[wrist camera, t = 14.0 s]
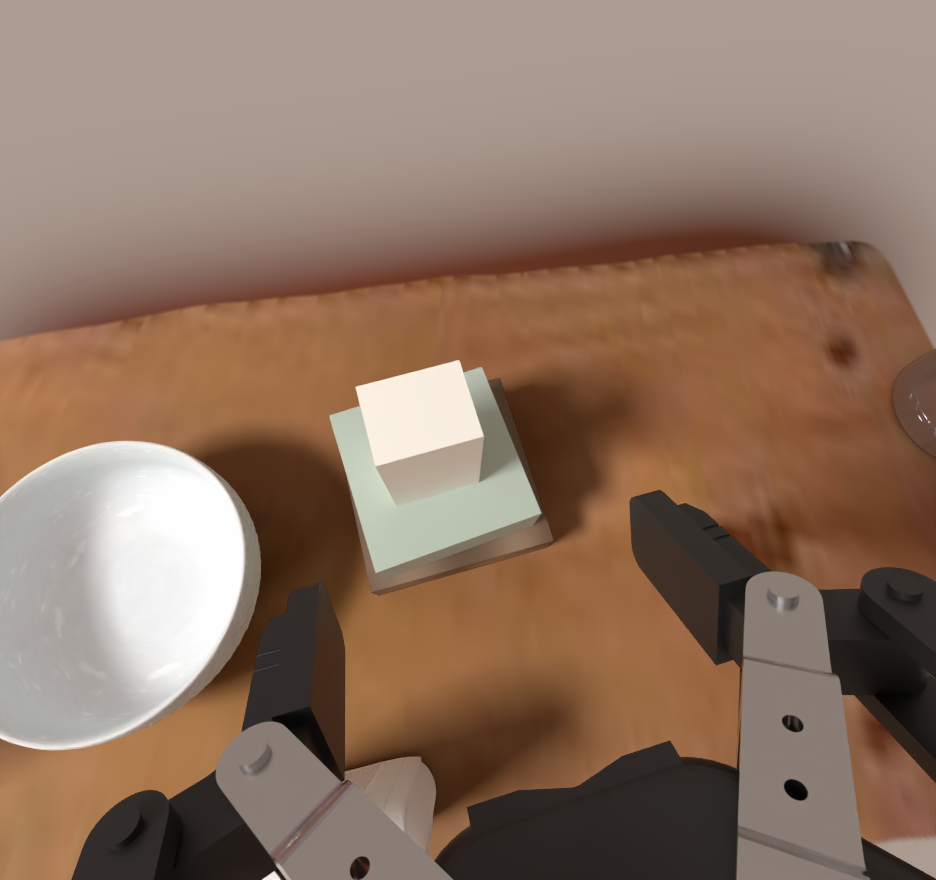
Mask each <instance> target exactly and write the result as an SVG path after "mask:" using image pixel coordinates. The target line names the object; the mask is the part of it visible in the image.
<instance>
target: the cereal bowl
mask: <svg viewBox="0 0 936 880" xmlns="http://www.w3.org/2000/svg"><path fill="white" fill-rule="evenodd" d="M260 554H261V552H260V546H259V542H258V535H257V534H256V531H255V527H254V523H253V521H252V519H251V517H250V514H249V512H248V511H247V509H246V507H245V505H244V503H243V502H242V500H241V498H240V497H239V496H238V495H237V493H236V491H235V490H233V488H232V487H231V486H230V485H229V483H227V482H226V480H224V479H223V478H222V477H221V476H220V475H218V474H217V473H216V472H215V471H214V470H213V469H212V468H210V467H208V466H207V465H206V464H205V463H203V462H201V461H200V460H198V459H196V458H194V457H193V456H192V455H190V454H187V453H185V452H182V451H180V450H178V449H177V448H173V447H170V446H166V445H162V444H158V443H151V442H144V441H113V442H105V443H99V444H94V445H90V446H87V447H83V448H80V449H77V450H74V451H71V452H69V453H66V454H64V455H61V456H59V457H57V458H55V459H53V460H51V461H49V462H47V463H46V464H44V465H42V466H40V467H39V468H37V469H35V470H34V471H32V472H31V473H29V474H28V475H26V476H25V477H24V478H22V479H21V480H20V481H18V482H17V483H16V484H15V485H13V486H12V487H11V488H10V489H9V490H7V491H6V492H5V493H4V494H3V495H2V496H1V497H0V738H1V739H3V740H5V741H8V742H10V743H13V744H16V745H20V746H24V747H28V748H34V749H40V750H68V749H78V748H85V747H89V746H94V745H98V744H103V743H106V742H108V741H112V740H115V739H119V738H121V737H123V736H127V735H129V734H132V733H135V732H136V731H138V730H141V729H143V728H146V727H148V726H149V725H151V724H154V723H156V722H157V721H160V720H161V719H163V718H164V717H166V716H167V715H169V714H171V713H174V712H175V711H176V710H177V709H178V708H180V707H181V706H183V705H185V704H186V703H188V702H189V701H190V700H191V699H192V698H193V697H194V696H196V695H197V694H199V692H200V691H202V690H203V688H204V687H206V686H207V685H208V684H209V683H210V682H211V681H212V680H213V678H214V677H215V676H216V675H217V674H218V673H219V672H220V671H221V669H222V668H223V667H224V665H225V664H226V662H227V661H228V660H230V659H231V656H232V654H233V653H234V651H235V650H236V648H237V646H238V645H239V644H240V642H241V639H242V638H243V636H244V633H245V631H246V630H247V629H248V626H249V623H250V621H251V617H252V615H253V613H254V608H255V605H256V600H257V597H258V594H259V586H260V580H261V558H260Z"/></svg>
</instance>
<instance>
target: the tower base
mask: <svg viewBox="0 0 936 880" xmlns="http://www.w3.org/2000/svg"><path fill="white" fill-rule="evenodd" d="M488 383H489V386H490V388H491V391H492V393H493V396H494V398H495V400H496V403H497V405H498V408H499V410H500V413H501V415H502V418H503V420H504V422H505V425H506V427H507V430H508V432H509V435H510V437H511V440H512V442H513V444H514V447H515V449H516V452H517V454H518V457H519V459H520V462H521V464H522V467H523V469H524V471H525V474H526V476H527V479H528V481H529V484H530V486H531V489H532V491H533V493H534V496H535V498H536V501H537V503H538V506H539V508H540V511H541V515H540V516H539V518H538V519H537V521H536V522H535V524H534V525H533V526H531V527H528V528H525V529H522V530H520V531H517V532H514V533H511V534H509V535H506V536H503V537H500V538H498V539H495V540H492V541H489V542H486V543H484V544H481V545H478V546H475V547H473V548H470V549H467V550H464V551H462V552H459V553H456V554H453V555H451V556H448V557H445V558H442V559H440V560H437V561H434V562H431V563H428V564H426V565H423V566H420V567H417V568H415V569H412V570H409V571H406V572H404V573H401V574H398V575H395V576H393V577H390V578H387V579H384V578H383V577H381V576H380V575H378V574H376V573H375V569H374V566H373V563H372V559H371V556H370V552H369V549H368V546H367V542H366V539H365V536H364V532H363V529H362V525H361V522H360V519H359V515H358V512H357V508H356V505H355V502H354V498H353V495H352V492H351V488H350V485H349V481H348V478H347V482H348V487H349V491H350V496H351V501H352V505H353V510H354V515H355V519H356V524H357V529H358V533H359V538H360V543H361V548H362V552H363V557H364V562H365V566H366V571H367V576H368V580H369V585H370V590H371V593H374V594H376V595H382V594H386V593H389V592H393V591H396V590H400V589H403V588H407V587H410V586H414V585H417V584H421V583H424V582H428V581H432V580H435V579H439V578H442V577H446V576H449V575H453V574H456V573H460V572H463V571H467V570H470V569H474V568H477V567H481V566H484V565H488V564H491V563H495V562H498V561H502V560H505V559H509V558H512V557H516V556H519V555H523V554H526V553H530V552H533V551H537V550H540V549H544V548H546V547H547V546H548V545H549V544H550V543H552V542H553V541H554V540H553V537H552V534H551V531H550V528H549V525H548V522H547V519H546V516H545V512H544V509H543V506H542V503H541V500H540V497H539V494H538V491H537V488H536V485H535V482H534V479H533V476H532V473H531V470H530V467H529V464H528V461H527V458H526V455H525V452H524V449H523V446H522V443H521V440H520V437H519V434H518V431H517V428H516V425H515V422H514V419H513V416H512V413H511V410H510V407H509V403H508V400H507V397H506V394H505V391H504V388H503V385H502V382H501V379H500V378H497V379H493V380H489V381H488ZM345 473H346V471H345ZM346 477H347V475H346Z"/></svg>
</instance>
